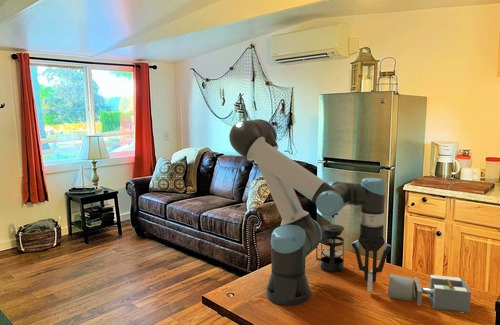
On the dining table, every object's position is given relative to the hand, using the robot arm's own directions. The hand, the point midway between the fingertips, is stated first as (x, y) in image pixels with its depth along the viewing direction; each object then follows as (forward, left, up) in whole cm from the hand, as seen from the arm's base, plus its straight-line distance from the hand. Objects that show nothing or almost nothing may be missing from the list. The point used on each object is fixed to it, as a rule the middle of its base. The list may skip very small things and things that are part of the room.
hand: (369, 289), depth 130 cm
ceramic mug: (+10, +1, -2) cm, 10 cm away
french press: (-15, +19, -2) cm, 24 cm away
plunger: (+21, 0, -1) cm, 21 cm away
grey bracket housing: (+24, 0, -2) cm, 24 cm away
